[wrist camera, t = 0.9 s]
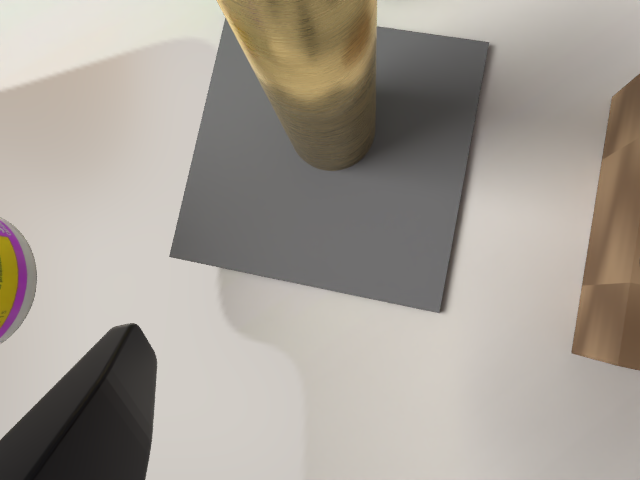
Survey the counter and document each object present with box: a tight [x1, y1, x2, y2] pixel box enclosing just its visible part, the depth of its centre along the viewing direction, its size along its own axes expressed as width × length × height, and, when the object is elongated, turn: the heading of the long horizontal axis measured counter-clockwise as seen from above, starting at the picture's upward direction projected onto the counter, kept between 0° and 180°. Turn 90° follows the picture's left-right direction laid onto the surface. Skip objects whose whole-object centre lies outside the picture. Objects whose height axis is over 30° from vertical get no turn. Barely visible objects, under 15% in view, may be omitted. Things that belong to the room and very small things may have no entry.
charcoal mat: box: [170, 18, 489, 313], centre depth 23 cm, size 12×12×1 cm
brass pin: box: [217, 0, 377, 171], centre depth 15 cm, size 4×4×15 cm
